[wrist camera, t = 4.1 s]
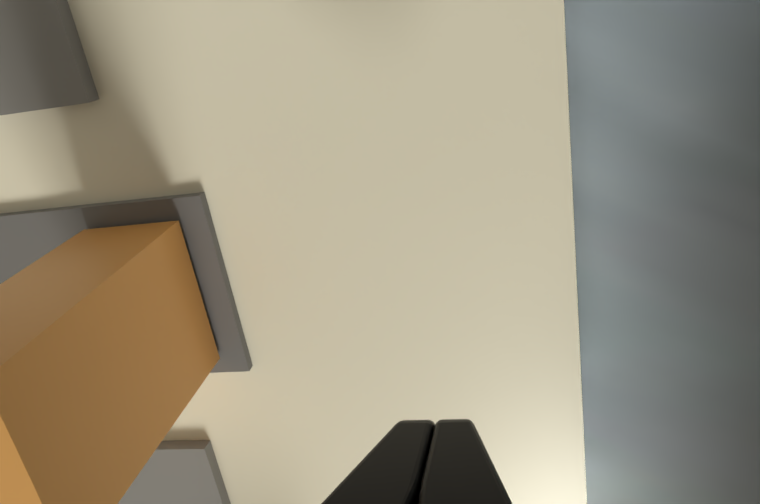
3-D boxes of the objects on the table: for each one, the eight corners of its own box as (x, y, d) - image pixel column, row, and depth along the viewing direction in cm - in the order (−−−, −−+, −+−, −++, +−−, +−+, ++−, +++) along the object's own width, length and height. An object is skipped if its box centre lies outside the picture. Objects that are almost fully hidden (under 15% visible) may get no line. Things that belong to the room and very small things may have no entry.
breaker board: (540, -180, 11) (554, -228, 8) (575, 457, 17) (591, 565, 14) (-371, 18, 16) (-568, 32, 13) (-116, 461, 21) (-215, 542, 19)
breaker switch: (178, 220, 12) (-17, 379, 7) (219, 358, 13) (72, 568, 9) (83, 229, 12) (-155, 385, 8) (131, 362, 14) (-53, 563, 9)
